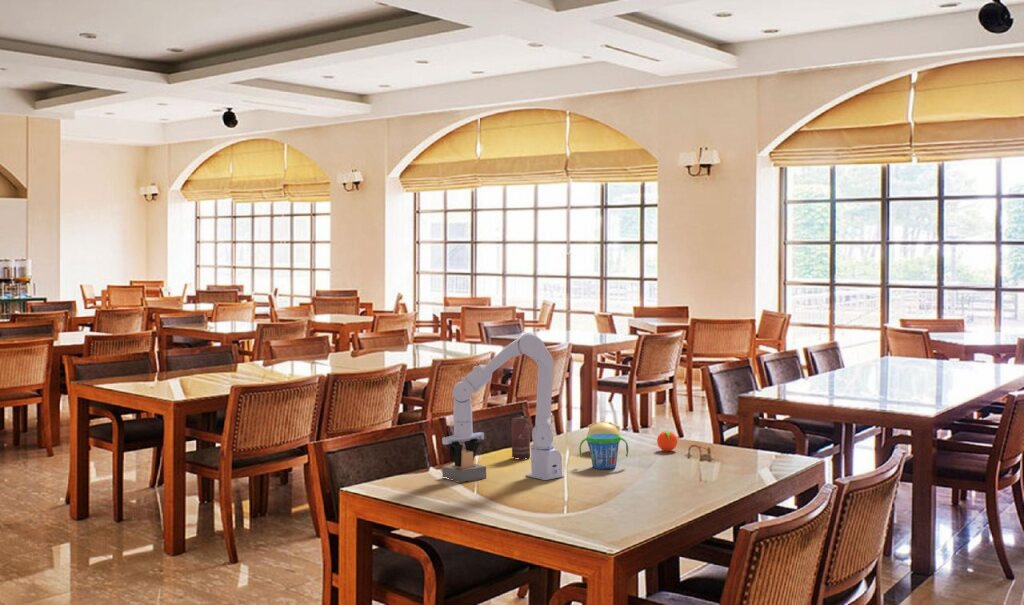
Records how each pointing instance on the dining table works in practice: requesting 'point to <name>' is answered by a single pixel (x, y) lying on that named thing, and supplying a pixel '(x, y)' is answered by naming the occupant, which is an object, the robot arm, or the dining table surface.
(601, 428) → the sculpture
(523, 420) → the can
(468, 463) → the plug
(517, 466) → the dining table surface
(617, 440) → the snack cup
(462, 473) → the socket
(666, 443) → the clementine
